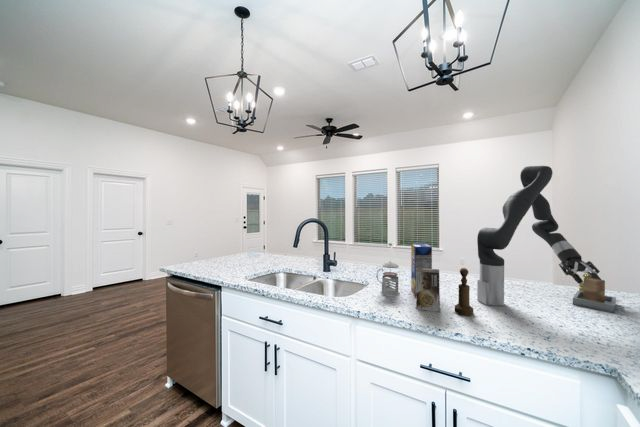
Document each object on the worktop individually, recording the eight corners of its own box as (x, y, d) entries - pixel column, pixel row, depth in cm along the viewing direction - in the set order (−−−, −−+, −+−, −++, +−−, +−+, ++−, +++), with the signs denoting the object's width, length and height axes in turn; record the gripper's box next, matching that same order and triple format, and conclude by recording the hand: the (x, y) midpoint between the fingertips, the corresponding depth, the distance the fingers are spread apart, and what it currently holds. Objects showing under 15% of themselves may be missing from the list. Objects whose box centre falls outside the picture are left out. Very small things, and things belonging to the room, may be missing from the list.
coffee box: (439, 306, 112) (439, 269, 112) (439, 312, 107) (439, 272, 106) (417, 303, 116) (417, 267, 116) (415, 308, 110) (415, 270, 110)
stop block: (594, 304, 112) (594, 280, 112) (583, 300, 117) (583, 278, 117) (604, 303, 112) (604, 280, 112) (593, 300, 117) (593, 277, 117)
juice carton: (411, 289, 137) (411, 243, 137) (426, 290, 136) (426, 243, 135) (415, 296, 125) (415, 246, 125) (431, 297, 124) (431, 247, 124)
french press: (403, 296, 126) (403, 244, 126) (378, 296, 126) (378, 244, 126) (397, 290, 136) (397, 241, 135) (374, 290, 136) (374, 241, 136)
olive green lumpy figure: (590, 291, 132) (590, 272, 132) (605, 296, 125) (605, 275, 125) (574, 291, 133) (574, 271, 133) (588, 296, 126) (588, 275, 125)
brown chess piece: (471, 311, 108) (471, 267, 107) (475, 317, 102) (475, 270, 101) (453, 309, 110) (453, 266, 110) (456, 314, 104) (456, 269, 103)
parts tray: (614, 312, 105) (614, 305, 105) (572, 304, 114) (572, 297, 114) (615, 304, 115) (616, 297, 115) (577, 297, 124) (577, 290, 124)
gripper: (556, 247, 125) (580, 278, 113) (585, 247, 125) (613, 278, 114) (546, 257, 130) (568, 286, 119) (574, 256, 130) (599, 286, 119)
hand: (590, 282), depth 116 cm, fingers open, 8 cm apart
